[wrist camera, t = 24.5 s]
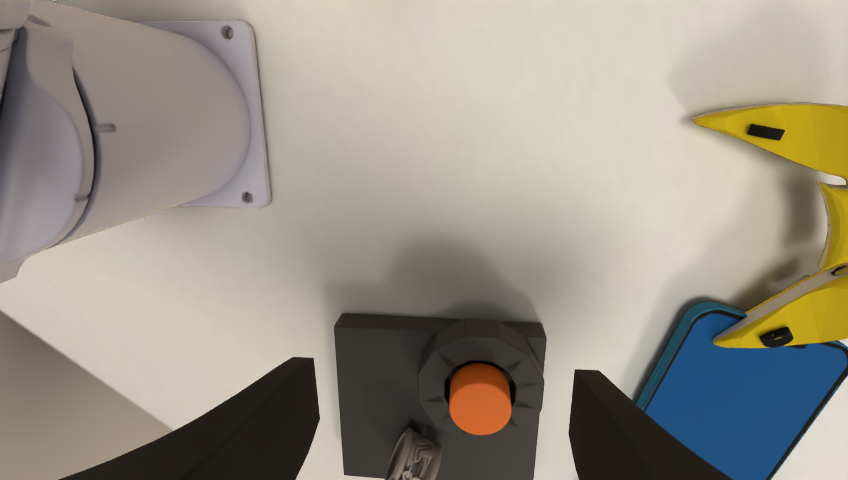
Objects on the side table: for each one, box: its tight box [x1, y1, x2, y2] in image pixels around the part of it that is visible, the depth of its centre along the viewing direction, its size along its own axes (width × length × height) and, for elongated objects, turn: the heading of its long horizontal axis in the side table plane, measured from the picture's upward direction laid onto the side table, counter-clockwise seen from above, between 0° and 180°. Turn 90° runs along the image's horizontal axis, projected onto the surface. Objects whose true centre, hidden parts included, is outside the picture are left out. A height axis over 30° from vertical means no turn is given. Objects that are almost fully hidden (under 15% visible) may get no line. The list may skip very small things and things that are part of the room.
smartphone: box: [636, 302, 848, 480], centre depth 22 cm, size 7×1×15 cm
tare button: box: [449, 363, 512, 435], centre depth 19 cm, size 3×3×2 cm
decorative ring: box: [385, 428, 442, 480], centre depth 21 cm, size 3×2×3 cm
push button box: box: [334, 314, 546, 480], centre depth 21 cm, size 10×10×3 cm
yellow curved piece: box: [692, 103, 848, 348], centre depth 18 cm, size 10×4×10 cm
